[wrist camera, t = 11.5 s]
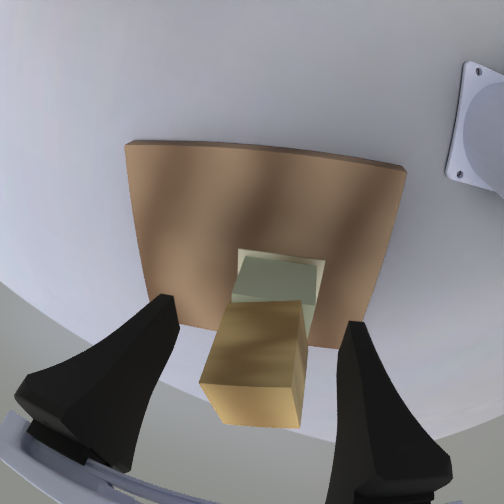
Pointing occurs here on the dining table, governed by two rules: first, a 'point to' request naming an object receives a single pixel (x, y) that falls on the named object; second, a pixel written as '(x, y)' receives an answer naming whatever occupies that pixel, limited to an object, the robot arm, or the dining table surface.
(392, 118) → the dining table surface
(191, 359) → the dining table surface
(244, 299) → the sage block
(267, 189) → the base plate
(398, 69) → the dining table surface
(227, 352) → the ochre block
